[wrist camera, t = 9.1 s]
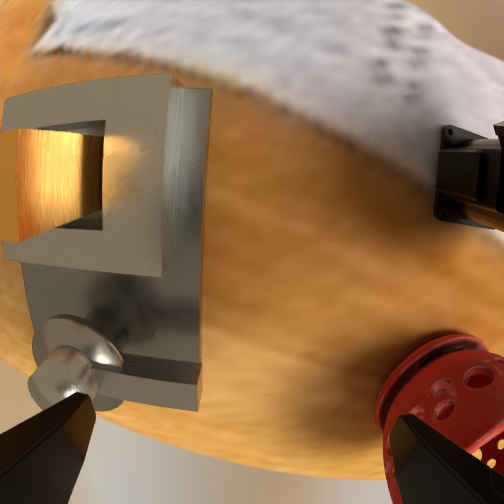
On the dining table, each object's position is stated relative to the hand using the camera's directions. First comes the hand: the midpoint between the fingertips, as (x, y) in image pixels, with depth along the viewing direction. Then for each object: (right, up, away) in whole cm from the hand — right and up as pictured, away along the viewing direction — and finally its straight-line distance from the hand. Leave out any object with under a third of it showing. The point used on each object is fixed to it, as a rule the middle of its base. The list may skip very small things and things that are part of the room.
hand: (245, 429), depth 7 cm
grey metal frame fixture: (-10, +5, +11) cm, 16 cm away
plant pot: (+15, -6, +15) cm, 22 cm away
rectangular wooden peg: (-9, +10, +9) cm, 16 cm away
